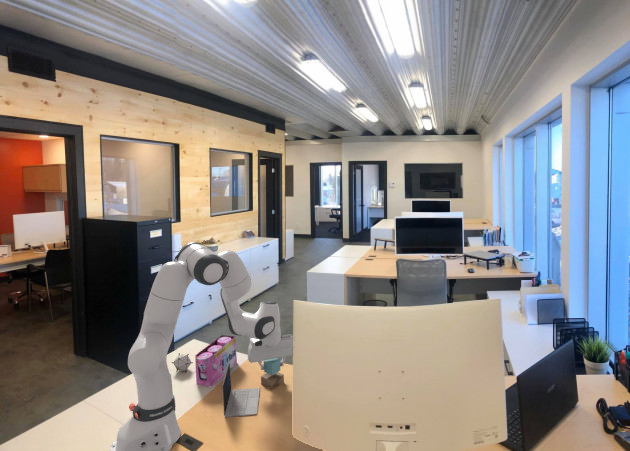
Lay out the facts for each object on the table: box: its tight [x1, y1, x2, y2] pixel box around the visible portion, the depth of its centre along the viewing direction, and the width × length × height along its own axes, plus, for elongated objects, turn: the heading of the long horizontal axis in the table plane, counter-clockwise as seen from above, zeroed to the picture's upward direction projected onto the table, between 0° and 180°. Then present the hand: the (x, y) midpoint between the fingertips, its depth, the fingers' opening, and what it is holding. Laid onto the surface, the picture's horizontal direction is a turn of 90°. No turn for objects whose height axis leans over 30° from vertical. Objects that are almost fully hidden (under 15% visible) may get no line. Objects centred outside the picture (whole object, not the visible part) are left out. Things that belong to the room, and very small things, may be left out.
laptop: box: [221, 363, 261, 418], centre depth 153 cm, size 18×12×13 cm
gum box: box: [194, 334, 238, 388], centre depth 176 cm, size 24×8×14 cm, turn 162°
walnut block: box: [260, 371, 285, 390], centre depth 167 cm, size 7×7×4 cm
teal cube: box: [263, 358, 281, 375], centre depth 166 cm, size 5×5×5 cm
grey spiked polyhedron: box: [171, 352, 194, 373], centre depth 180 cm, size 9×8×10 cm
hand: (272, 367), depth 166 cm, fingers closed on teal cube, 7 cm apart
